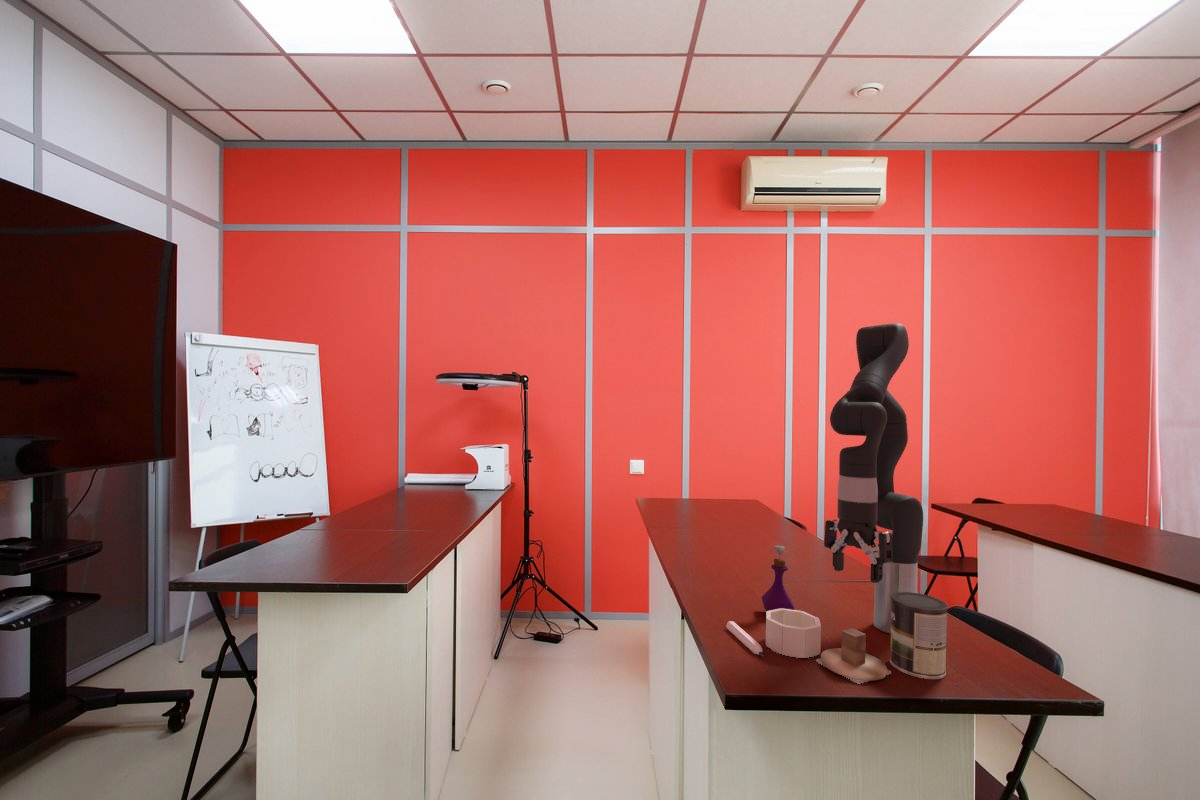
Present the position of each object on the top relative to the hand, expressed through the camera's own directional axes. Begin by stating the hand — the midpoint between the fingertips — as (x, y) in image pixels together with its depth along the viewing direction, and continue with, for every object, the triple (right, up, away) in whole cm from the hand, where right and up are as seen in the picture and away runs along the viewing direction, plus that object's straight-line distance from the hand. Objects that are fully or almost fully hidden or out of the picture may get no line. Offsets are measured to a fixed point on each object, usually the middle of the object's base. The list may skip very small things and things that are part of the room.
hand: (856, 575), depth 112 cm
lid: (-1, -19, 0) cm, 19 cm away
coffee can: (+13, -20, +1) cm, 24 cm away
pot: (-10, -19, +9) cm, 23 cm away
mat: (-1, -19, 0) cm, 19 cm away
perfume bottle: (-7, -20, +27) cm, 34 cm away
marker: (-20, -19, +11) cm, 30 cm away
